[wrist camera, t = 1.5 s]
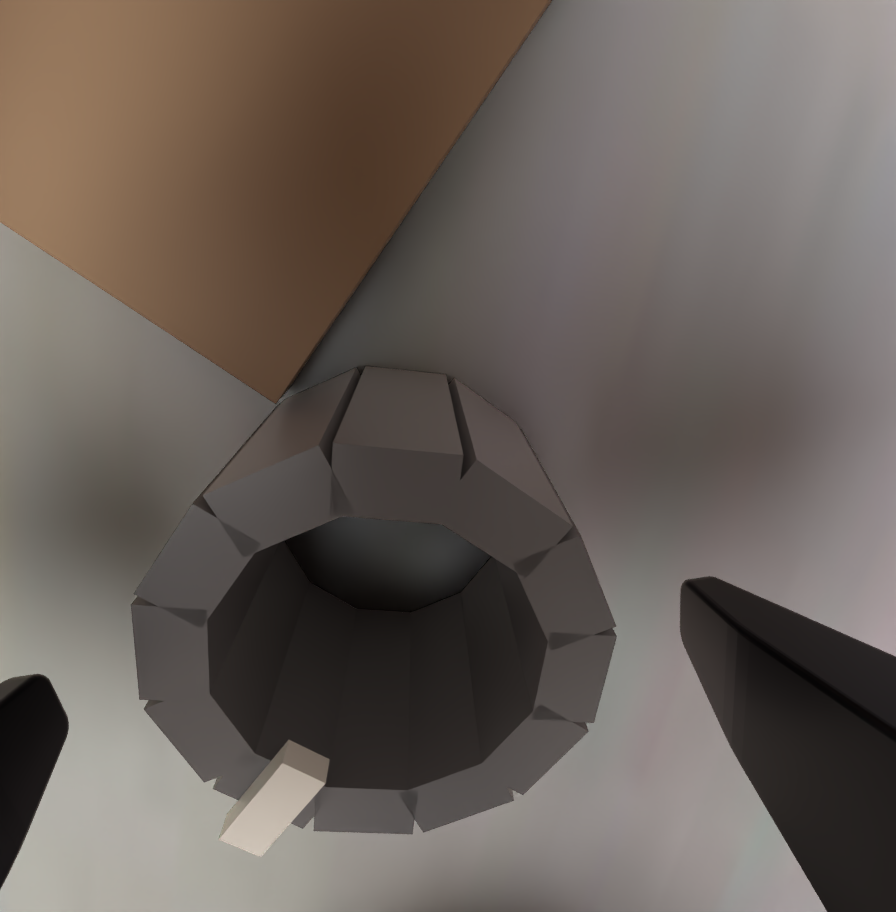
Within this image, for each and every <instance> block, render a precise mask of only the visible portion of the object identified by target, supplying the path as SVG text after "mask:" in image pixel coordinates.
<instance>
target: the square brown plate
mask: <svg viewBox="0 0 896 912" xmlns="http://www.w3.org/2000/svg"><path fill="white" fill-rule="evenodd" d="M551 2H552V0H0V222H1V223H2V224H4V225H6V226H7V227H9V228H10V229H12V230H13V231H15V232H16V233H18V234H19V235H21V236H22V237H24V238H25V239H27V240H28V241H30V242H31V243H33V244H34V245H36V246H37V247H39V248H40V249H42V250H43V251H45V252H46V253H48V254H49V255H51V256H52V257H54V258H55V259H57V260H59V261H60V262H62V263H63V264H65V265H66V266H68V267H69V268H71V269H72V270H74V271H75V272H77V273H78V274H80V275H81V276H83V277H84V278H86V279H87V280H89V281H90V282H92V283H93V284H95V285H96V286H98V287H99V288H101V289H102V290H104V291H105V292H107V293H108V294H110V295H112V296H113V297H115V298H116V299H118V300H119V301H121V302H122V303H124V304H125V305H127V306H128V307H130V308H131V309H133V310H134V311H136V312H137V313H139V314H140V315H142V316H143V317H145V318H146V319H148V320H149V321H151V322H152V323H154V324H155V325H157V326H158V327H160V328H161V329H163V330H165V331H166V332H168V333H169V334H171V335H172V336H174V337H175V338H177V339H178V340H180V341H181V342H183V343H184V344H186V345H187V346H189V347H190V348H192V349H193V350H195V351H196V352H198V353H199V354H201V355H202V356H204V357H205V358H207V359H208V360H210V361H211V362H213V363H215V364H216V365H218V366H219V367H221V368H222V369H224V370H225V371H227V372H228V373H230V374H231V375H233V376H234V377H236V378H237V379H239V380H240V381H242V382H243V383H245V384H246V385H248V386H249V387H251V388H252V389H254V390H255V391H257V392H258V393H260V394H261V395H263V396H264V397H266V398H268V399H269V400H271V401H272V402H274V403H275V404H276V403H277V402H278V401H279V399H280V398H281V397H282V396H283V395H284V394H285V393H286V391H287V390H288V389H289V387H290V386H291V385H292V383H293V382H294V380H295V379H296V377H297V376H298V374H299V373H300V371H301V370H302V368H303V367H304V365H305V364H306V362H307V361H308V359H309V358H310V357H311V355H312V354H313V352H314V351H315V349H316V348H317V346H318V345H319V343H320V342H321V340H322V339H323V337H324V336H325V334H326V333H327V331H328V330H329V329H330V327H331V326H332V324H333V323H334V321H335V320H336V318H337V317H338V315H339V314H340V312H341V311H342V309H343V308H344V306H345V305H346V304H347V302H348V301H349V299H350V298H351V296H352V295H353V293H354V292H355V290H356V289H357V287H358V286H359V284H360V283H361V281H362V280H363V278H364V277H365V276H366V274H367V273H368V271H369V270H370V268H371V267H372V265H373V264H374V262H375V261H376V259H377V258H378V256H379V255H380V253H381V252H382V250H383V249H384V248H385V246H386V245H387V243H388V242H389V240H390V239H391V237H392V236H393V234H394V233H395V231H396V230H397V228H398V227H399V225H400V224H401V222H402V221H403V220H404V218H405V217H406V215H407V214H408V212H409V211H410V209H411V208H412V206H413V205H414V203H415V202H416V200H417V199H418V197H419V196H420V195H421V193H422V192H423V190H424V189H425V187H426V186H427V184H428V183H429V181H430V180H431V178H432V177H433V175H434V174H435V172H436V171H437V169H438V168H439V167H440V165H441V164H442V162H443V161H444V159H445V158H446V156H447V155H448V153H449V152H450V150H451V149H452V147H453V146H454V144H455V143H456V141H457V140H458V139H459V137H460V136H461V134H462V133H463V131H464V130H465V128H466V127H467V125H468V124H469V122H470V121H471V119H472V118H473V116H474V115H475V113H476V112H477V111H478V109H479V108H480V106H481V105H482V103H483V102H484V100H485V99H486V97H487V96H488V94H489V93H490V91H491V90H492V88H493V87H494V85H495V84H496V83H497V81H498V80H499V78H500V77H501V75H502V74H503V72H504V71H505V69H506V68H507V66H508V65H509V63H510V62H511V60H512V59H513V58H514V56H515V55H516V53H517V52H518V50H519V49H520V47H521V46H522V44H523V43H524V41H525V40H526V38H527V37H528V35H529V34H530V32H531V31H532V30H533V28H534V27H535V25H536V24H537V22H538V21H539V19H540V18H541V16H542V15H543V13H544V12H545V10H546V9H547V7H548V6H549V4H550V3H551Z"/></svg>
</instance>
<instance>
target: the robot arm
mask: <svg viewBox="0 0 896 912" xmlns="http://www.w3.org/2000/svg"><path fill="white" fill-rule="evenodd" d="M680 632H681V637H682V641H683V644H684V647H685V649H686V651H687V653H688V656H689V658H690V660H691V662H692V664H693V667H694V669H695V671H696V673H697V675H698V677H699V680H700V682H701V684H702V686H703V688H704V691H705V693H706V695H707V697H708V699H709V702H710V704H711V706H712V708H713V710H714V712H715V715H716V717H717V719H718V721H719V723H720V726H721V728H722V730H723V732H724V734H725V736H726V738H727V740H728V742H729V744H730V746H731V748H732V750H733V752H734V754H735V756H736V757H737V759H738V761H739V763H740V764H741V766H742V768H743V770H744V771H745V773H746V775H747V776H748V778H749V780H750V781H751V783H752V785H753V787H754V788H755V790H756V792H757V793H758V795H759V797H760V798H761V800H762V802H763V804H764V805H765V807H766V809H767V810H768V812H769V814H770V815H771V817H772V819H773V820H774V822H775V824H776V826H777V827H778V829H779V831H780V832H781V834H782V836H783V837H784V839H785V841H786V842H787V844H788V846H789V848H790V849H791V851H792V853H793V854H794V856H795V858H796V859H797V861H798V863H799V864H800V866H801V868H802V870H803V871H804V873H805V875H806V876H807V878H808V880H809V881H810V883H811V885H812V887H813V888H814V890H815V892H816V893H817V895H818V897H819V898H820V900H821V902H822V903H823V905H824V907H825V909H826V910H827V912H896V657H895V656H893V655H891V654H889V653H886V652H884V651H882V650H879V649H877V648H875V647H873V646H870V645H868V644H866V643H864V642H861V641H859V640H857V639H854V638H852V637H850V636H848V635H845V634H843V633H841V632H839V631H836V630H834V629H832V628H829V627H827V626H825V625H823V624H820V623H818V622H816V621H814V620H811V619H809V618H807V617H804V616H802V615H800V614H798V613H795V612H793V611H791V610H789V609H786V608H784V607H782V606H779V605H777V604H775V603H773V602H770V601H768V600H766V599H764V598H761V597H759V596H757V595H754V594H752V593H750V592H748V591H745V590H743V589H741V588H739V587H736V586H734V585H732V584H729V583H727V582H725V581H723V580H720V579H718V578H716V577H711V576H708V577H701V578H695V579H688V580H685V581H684V582H683V583H682V586H681V594H680ZM68 729H69V722H68V717H67V715H66V712H65V710H64V708H63V706H62V704H61V702H60V700H59V698H58V696H57V694H56V692H55V690H54V688H53V686H52V684H51V682H50V680H49V679H48V678H47V677H46V676H44V675H41V674H33V675H26V676H19V677H13V678H10V679H8V680H6V681H4V682H2V683H0V889H1V887H2V885H3V883H4V882H5V880H6V878H7V876H8V874H9V872H10V870H11V868H12V866H13V863H14V861H15V859H16V857H17V855H18V853H19V851H20V849H21V846H22V844H23V842H24V840H25V837H26V835H27V833H28V830H29V828H30V825H31V823H32V821H33V818H34V816H35V813H36V811H37V808H38V806H39V803H40V801H41V799H42V796H43V794H44V791H45V789H46V786H47V784H48V781H49V779H50V777H51V774H52V772H53V769H54V767H55V764H56V762H57V759H58V757H59V755H60V752H61V750H62V747H63V745H64V742H65V740H66V737H67V734H68Z"/></svg>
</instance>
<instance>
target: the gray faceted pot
mask: <svg viewBox="0 0 896 912" xmlns="http://www.w3.org/2000/svg"><path fill="white" fill-rule="evenodd" d="M342 516H348V517H360V518H372V519H384V520H397V521H409V522H421V523H434V524H442V525H443V526H445V527H447V528H448V529H450V530H451V531H453V532H454V533H456V534H457V535H459V536H461V537H462V538H464V539H465V540H467V541H468V542H470V543H471V544H473V545H475V546H476V547H478V548H479V549H481V550H482V551H484V552H486V553H487V554H489V555H490V556H492V557H491V558H490V559H489V560H488V561H487V563H486V564H485V565H484V566H483V567H482V568H481V570H480V571H479V572H478V573H477V574H476V575H475V576H474V578H473V579H472V580H471V581H470V582H469V583H468V585H467V586H466V587H465V588H464V589H463V590H462V592H461V593H459V594H456V595H454V596H451V597H449V598H446V599H444V600H441V601H438V602H436V603H433V604H431V605H428V606H426V607H423V608H421V609H418V610H416V611H413V612H397V611H382V610H367V609H356V608H354V607H352V606H351V605H349V604H347V603H345V602H344V601H342V600H340V599H338V598H337V597H335V596H333V595H331V594H330V593H328V592H326V591H324V590H323V589H321V588H319V587H317V586H316V585H314V584H312V583H310V582H309V580H308V579H307V577H306V576H305V574H304V572H303V571H302V569H301V567H300V566H299V564H298V563H297V561H296V559H295V558H294V556H293V554H292V553H291V551H290V550H289V548H288V546H287V545H286V543H285V541H284V540H287V539H289V538H292V537H294V536H296V535H299V534H301V533H304V532H306V531H308V530H311V529H313V528H315V527H318V526H320V525H323V524H325V523H327V522H330V521H332V520H335V519H337V518H339V517H342ZM134 594H135V595H137V596H138V597H137V598H136V599H135V600H134V602H133V603H132V604H131V611H132V622H133V633H134V644H135V655H136V666H137V677H138V688H139V699H140V700H149V701H148V703H147V704H146V706H145V708H144V710H145V711H146V713H147V714H148V715H149V716H150V717H151V719H152V720H153V721H154V722H155V723H156V725H157V726H158V727H159V728H160V729H161V731H162V732H163V733H164V734H165V736H166V737H167V738H168V739H169V740H170V742H171V743H172V744H173V745H174V746H175V748H176V749H177V750H178V751H179V752H180V754H181V755H182V756H183V757H184V759H185V760H186V761H187V762H188V763H189V765H190V766H191V767H192V768H193V769H194V771H195V772H196V773H197V774H198V775H199V777H200V778H201V779H202V780H203V782H207V781H209V780H212V779H214V778H217V779H216V782H215V785H214V787H213V789H215V790H217V791H219V792H221V793H224V794H226V795H228V796H230V797H233V798H235V799H237V800H238V801H237V803H236V804H235V805H234V806H233V807H232V809H231V810H230V811H229V812H228V813H227V816H226V819H225V822H224V825H223V828H222V831H221V834H220V837H219V840H221V841H223V842H225V843H228V844H230V845H233V846H235V847H237V848H240V849H242V850H245V851H247V852H249V853H252V854H254V855H256V856H259V857H261V856H262V855H263V854H264V853H265V852H266V851H267V849H268V848H269V847H270V846H271V845H272V844H273V843H274V841H275V840H276V839H277V838H278V837H279V836H280V835H281V833H282V832H283V831H284V830H285V829H286V828H287V827H288V826H289V824H290V823H291V824H294V825H296V826H298V827H300V828H304V827H305V826H306V824H307V823H308V822H309V821H310V820H311V819H312V818H313V817H314V831H330V832H361V833H391V834H413V827H414V819H415V821H416V822H417V824H418V825H419V827H420V828H421V830H422V831H423V832H426V831H429V830H432V829H435V828H438V827H440V826H443V825H446V824H449V823H452V822H454V821H457V820H460V819H463V818H466V817H469V816H471V815H474V814H477V813H480V812H483V811H486V810H488V809H491V808H494V807H497V806H500V805H502V804H505V803H508V802H511V801H514V798H513V793H512V790H514V791H516V792H518V793H520V794H522V795H523V794H524V793H525V792H527V791H528V790H529V789H530V788H531V787H532V786H533V785H534V784H535V783H536V782H537V781H538V780H539V779H540V778H541V777H542V776H543V775H544V774H545V773H546V772H547V771H548V770H549V769H550V768H551V767H552V766H553V765H554V764H555V763H556V762H558V761H559V760H560V759H561V758H562V757H563V756H564V755H565V754H566V753H567V752H568V751H569V750H570V749H571V748H572V747H573V746H574V745H575V744H576V743H577V742H578V741H579V740H580V739H581V738H582V737H583V736H584V735H585V734H586V733H587V732H588V728H587V726H586V723H585V722H587V723H594V720H595V717H596V713H597V709H598V705H599V701H600V698H601V694H602V690H603V686H604V683H605V679H606V675H607V671H608V668H609V664H610V660H611V656H612V652H613V649H614V645H615V641H616V637H617V636H616V634H615V632H614V630H613V627H616V624H615V622H614V619H613V617H612V614H611V612H610V609H609V607H608V604H607V601H606V599H605V596H604V594H603V591H602V589H601V586H600V584H599V581H598V578H597V576H596V573H595V571H594V568H593V566H592V563H591V561H590V558H589V556H588V553H587V550H586V548H585V545H584V543H583V540H582V538H581V535H580V533H579V532H578V530H577V528H576V526H575V524H574V523H573V521H572V519H571V517H570V516H569V514H568V512H567V510H566V508H565V507H564V505H563V503H562V501H561V499H560V498H559V496H558V494H557V492H556V491H555V489H554V487H553V485H552V483H551V482H550V480H549V478H548V476H547V474H546V473H545V471H544V469H543V467H542V466H541V464H540V462H539V460H538V458H537V457H536V455H535V453H534V451H533V449H532V448H531V446H530V444H529V442H528V441H527V439H526V437H525V435H524V433H523V432H522V430H521V429H519V427H518V425H517V423H516V422H515V421H513V420H512V419H511V418H509V417H508V416H506V415H505V414H504V413H502V412H501V411H500V410H498V409H497V408H495V407H494V406H493V405H491V404H490V403H489V402H487V401H486V400H484V399H483V398H482V397H480V396H479V395H478V394H476V393H475V392H473V391H472V390H471V389H469V388H468V387H467V386H465V385H464V384H462V383H461V382H460V381H458V380H457V379H455V378H454V379H453V380H452V381H451V383H450V384H449V385H448V382H447V377H446V374H437V373H428V372H418V371H408V370H399V369H389V368H380V367H370V366H365V368H364V371H363V373H362V375H360V373H359V371H358V369H357V367H356V368H354V369H352V370H350V371H347V372H345V373H343V374H341V375H338V376H336V377H334V378H332V379H329V380H327V381H325V382H323V383H320V384H318V385H316V386H314V387H311V388H309V389H307V390H305V391H302V392H300V393H298V394H296V395H293V396H291V397H289V398H287V399H284V401H283V402H282V403H281V404H280V405H279V406H278V405H277V407H276V408H275V409H274V410H273V411H272V412H271V413H270V415H269V416H268V417H267V418H266V419H265V420H264V422H263V423H262V424H261V425H260V426H259V427H258V428H257V430H256V431H255V432H254V433H253V434H252V435H251V437H250V438H249V439H248V440H247V441H246V442H245V444H244V445H243V446H242V447H241V448H240V449H239V450H238V452H237V453H236V454H235V455H234V456H233V457H232V459H231V460H230V461H229V462H228V463H227V464H226V465H225V467H224V468H223V469H222V470H221V471H220V472H219V474H218V475H217V476H216V477H215V478H214V479H213V481H212V482H211V483H210V484H209V485H208V486H207V487H206V489H205V490H204V491H203V492H202V493H201V494H200V496H199V497H198V498H197V499H196V500H195V501H194V503H193V504H192V505H191V507H190V508H189V510H188V511H187V513H186V514H185V516H184V517H183V519H182V520H181V522H180V524H179V525H178V527H177V528H176V530H175V531H174V533H173V534H172V536H171V537H170V539H169V540H168V542H167V543H166V545H165V547H164V548H163V550H162V551H161V553H160V554H159V556H158V557H157V559H156V560H155V562H154V563H153V565H152V566H151V568H150V570H149V571H148V573H147V574H146V576H145V577H144V579H143V580H142V582H141V583H140V585H139V586H138V588H137V590H136V591H135V593H134Z"/></svg>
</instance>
